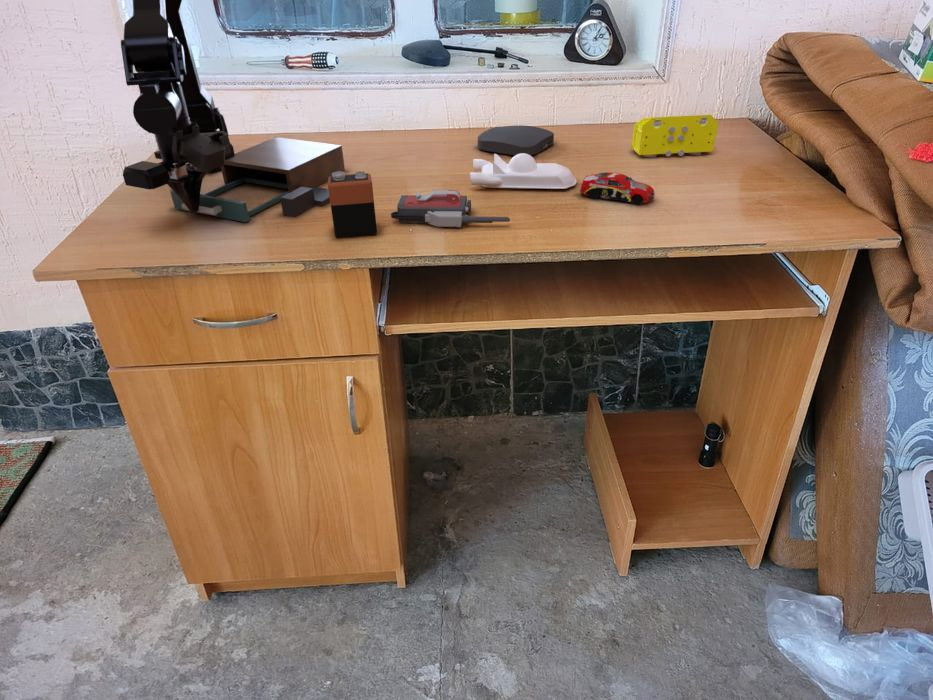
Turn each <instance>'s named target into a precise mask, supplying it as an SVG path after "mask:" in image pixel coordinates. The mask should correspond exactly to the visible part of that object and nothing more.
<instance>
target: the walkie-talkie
mask: <svg viewBox="0 0 933 700" xmlns="http://www.w3.org/2000/svg"><path fill="white" fill-rule="evenodd" d="M396 207H397V211H393V212H392V211H391V213H390V217H391V219H393V220H397V221H398V222H399V223H402V224H428V225H432V226H434V227H439V228H440V227H441V228H443V227H444V228H446V227H447V228H462V225H465V224H468V225H469V224H492V223H496V222H498V223H501V222H503V223H504V222H505V223H507V222H509V223H510V220H511V219H510V217H509V216H470V215H468V214H467V213H471V212H472V200H471V199H468V195H462V194H461V193H460V191H458V190H455V189H448V190H446V189H434V190H433V191H431V192H430V193H428V194H422V192H421V191H417V192H416V194H401V196H400V198H399V200H398V202H397V206H396Z"/></svg>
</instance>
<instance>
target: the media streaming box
mask: <svg viewBox="0 0 933 700" xmlns="http://www.w3.org/2000/svg"><path fill="white" fill-rule="evenodd" d="M554 139H555V133H554V132H553V131H551V130H549V129H545V128H542V127H539V126H534V125H533V126H532V125H521V124H519V125H504V126H495V127H491V128H488V129H486V130H484V131H483V132H481V133H480V134H479V135H478V136H477V148H478V149H479V150H481V151H486V152H490V153H491V152H492V153H496V154H504V155H511V156H515V155H517V154H520V153H525V154H529V155H530V156H533V155H536V154H538V153H540V152H542V151H544V150H545V149H547V148H549V147H551V146H552V145H553V144H554V143H555V140H554Z"/></svg>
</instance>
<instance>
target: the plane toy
mask: <svg viewBox="0 0 933 700" xmlns="http://www.w3.org/2000/svg"><path fill="white" fill-rule="evenodd" d="M493 157H494V158H493V162H490V161H488V160H485V159H482V158H473V159H472V164H473V165H472V166H473V170H474V172H469V178H470V183H471V186H482V187H483V188H496V189H497V188H498V189H541V190H544V189H547V190H549V189H550V190H560V189H561V190H566V189H569V188H571V187H574V186H576V184H577V179H576V177H575V176H574V174H573V173H572V171H570V169H569V168H568V167H566V166H564V165H561V164H559V163H557V162H545V163H543V162H542V163H541V162H540V163H539V162H536V160H535V158H534V157H533V155H529V154H525V153H520V154H517V155H513V157H512V158H511V159H510V160H509V162H506V161H504V160H503V159H502V158H501V156H499V155H498V153H494V154H493Z"/></svg>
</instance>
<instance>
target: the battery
mask: <svg viewBox="0 0 933 700" xmlns="http://www.w3.org/2000/svg"><path fill="white" fill-rule="evenodd" d="M372 180H373V179H372V175H371V174H370V173H368V172H366V171H363V170H361V171H360V170H359V171H356V172H355V173H353V174H352V173H351V174H346V171H345V172H339V171H338V172H334V173H332V176H330V177H329V178H328V181H327V189H328V190H329V197H330V203H329V204H330V211H331V217H332V225H333V231H334V237H335V238H336V239H346V238H347V239H348V238H356V237H357V238H358V237H369V236H376V235H377V234H378V228H377V227H378V226H377V216H376V209H375V208H376V207H375V199H374V189H373V181H372Z"/></svg>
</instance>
